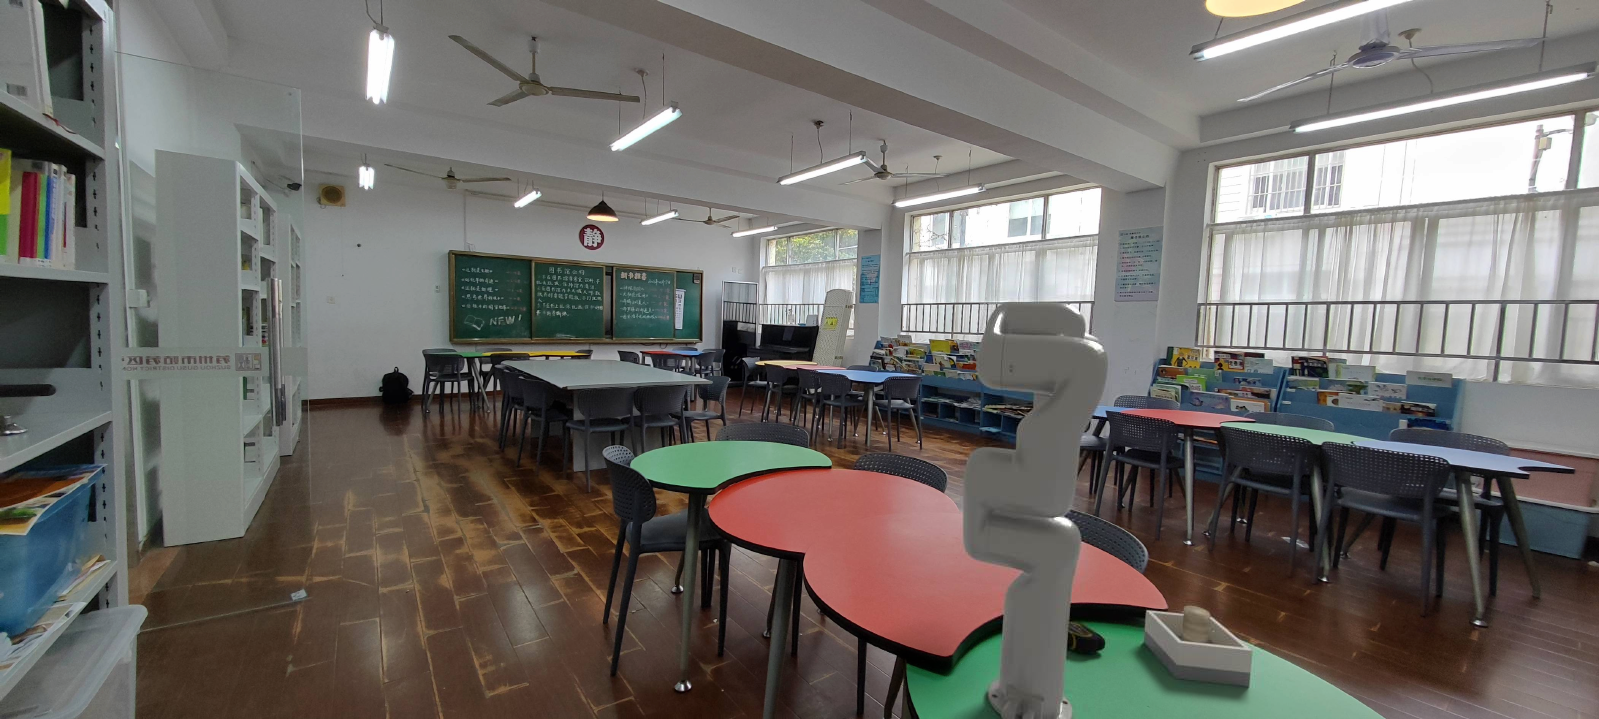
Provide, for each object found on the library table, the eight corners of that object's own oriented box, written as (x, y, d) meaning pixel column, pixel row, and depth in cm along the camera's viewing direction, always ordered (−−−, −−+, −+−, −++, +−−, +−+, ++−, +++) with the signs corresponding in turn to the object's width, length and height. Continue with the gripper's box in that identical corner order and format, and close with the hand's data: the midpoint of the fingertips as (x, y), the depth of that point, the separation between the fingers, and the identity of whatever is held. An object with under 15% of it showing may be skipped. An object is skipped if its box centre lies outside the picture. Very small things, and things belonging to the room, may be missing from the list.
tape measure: (1106, 655, 108) (1108, 636, 108) (1077, 659, 106) (1079, 640, 106) (1078, 636, 114) (1080, 618, 114) (1051, 640, 112) (1052, 621, 112)
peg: (1206, 671, 104) (1211, 618, 103) (1180, 664, 106) (1184, 612, 105) (1205, 661, 107) (1209, 609, 106) (1179, 654, 109) (1183, 603, 108)
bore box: (1249, 686, 100) (1252, 650, 99) (1175, 678, 101) (1178, 642, 101) (1208, 649, 112) (1211, 616, 111) (1143, 642, 113) (1146, 610, 113)
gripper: (1085, 410, 113) (1079, 494, 114) (1057, 400, 130) (1052, 473, 131) (1046, 407, 114) (1040, 491, 115) (1023, 397, 131) (1018, 471, 132)
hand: (1046, 482), depth 123 cm, fingers open, 9 cm apart
